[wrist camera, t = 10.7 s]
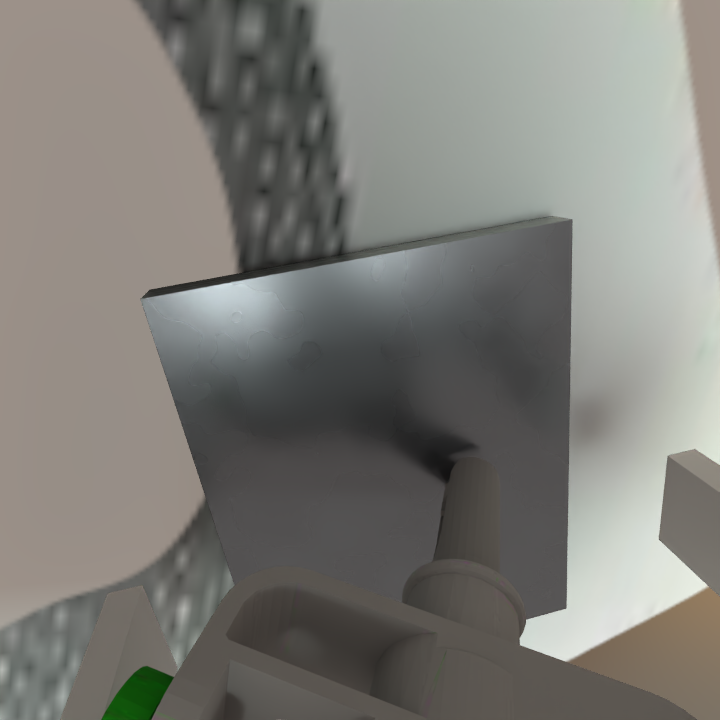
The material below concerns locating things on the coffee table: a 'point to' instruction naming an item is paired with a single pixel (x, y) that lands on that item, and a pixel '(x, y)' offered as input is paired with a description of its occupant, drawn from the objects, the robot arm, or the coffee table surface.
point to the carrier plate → (380, 403)
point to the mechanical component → (385, 644)
